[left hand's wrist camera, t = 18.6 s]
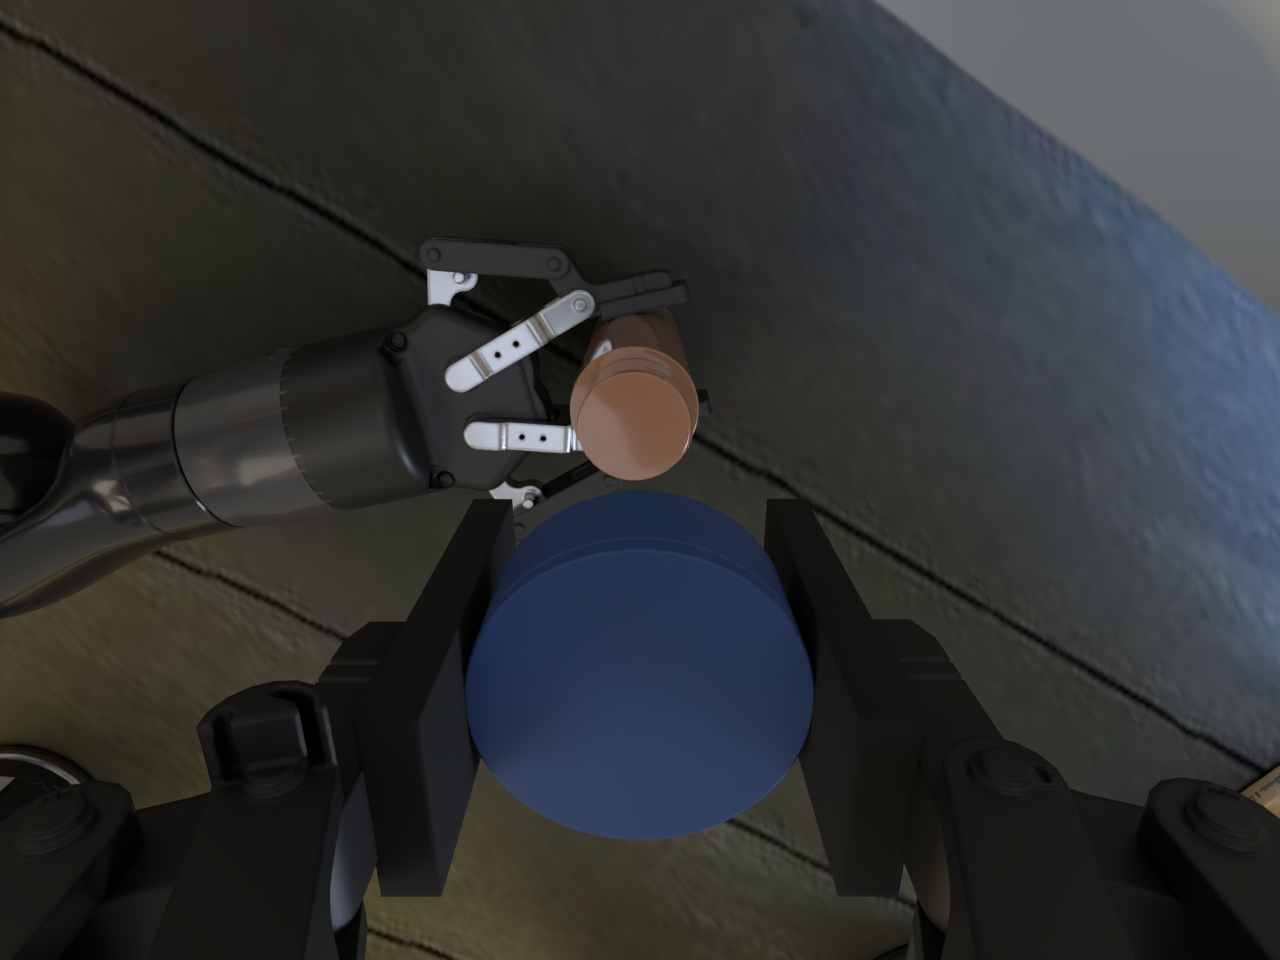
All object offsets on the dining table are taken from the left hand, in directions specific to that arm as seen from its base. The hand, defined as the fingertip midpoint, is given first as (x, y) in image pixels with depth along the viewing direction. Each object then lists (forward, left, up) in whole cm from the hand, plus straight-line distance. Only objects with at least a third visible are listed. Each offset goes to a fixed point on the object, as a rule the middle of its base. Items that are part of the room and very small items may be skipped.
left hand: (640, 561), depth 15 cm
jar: (0, 0, -25) cm, 25 cm away
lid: (0, 0, +4) cm, 4 cm away
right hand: (+2, -2, -18) cm, 18 cm away
